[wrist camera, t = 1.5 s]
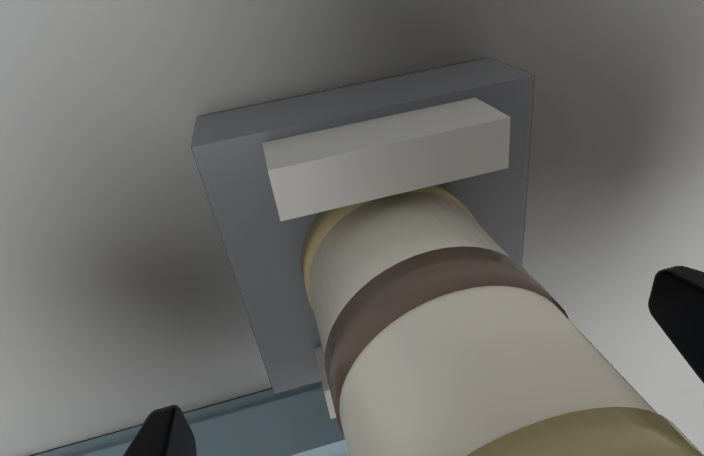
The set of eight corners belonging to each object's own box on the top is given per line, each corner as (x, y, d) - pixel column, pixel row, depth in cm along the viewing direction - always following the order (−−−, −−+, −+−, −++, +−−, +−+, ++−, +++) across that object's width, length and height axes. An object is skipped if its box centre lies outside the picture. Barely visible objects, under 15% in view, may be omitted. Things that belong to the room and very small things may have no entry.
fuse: (470, 299, 12) (693, 613, 6) (318, 340, 12) (409, 721, 6) (468, 155, 10) (801, 427, 4) (283, 198, 10) (373, 573, 4)
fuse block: (485, 284, 15) (546, 361, 12) (268, 341, 14) (279, 439, 11) (488, 57, 11) (577, 91, 8) (196, 117, 10) (185, 177, 8)
